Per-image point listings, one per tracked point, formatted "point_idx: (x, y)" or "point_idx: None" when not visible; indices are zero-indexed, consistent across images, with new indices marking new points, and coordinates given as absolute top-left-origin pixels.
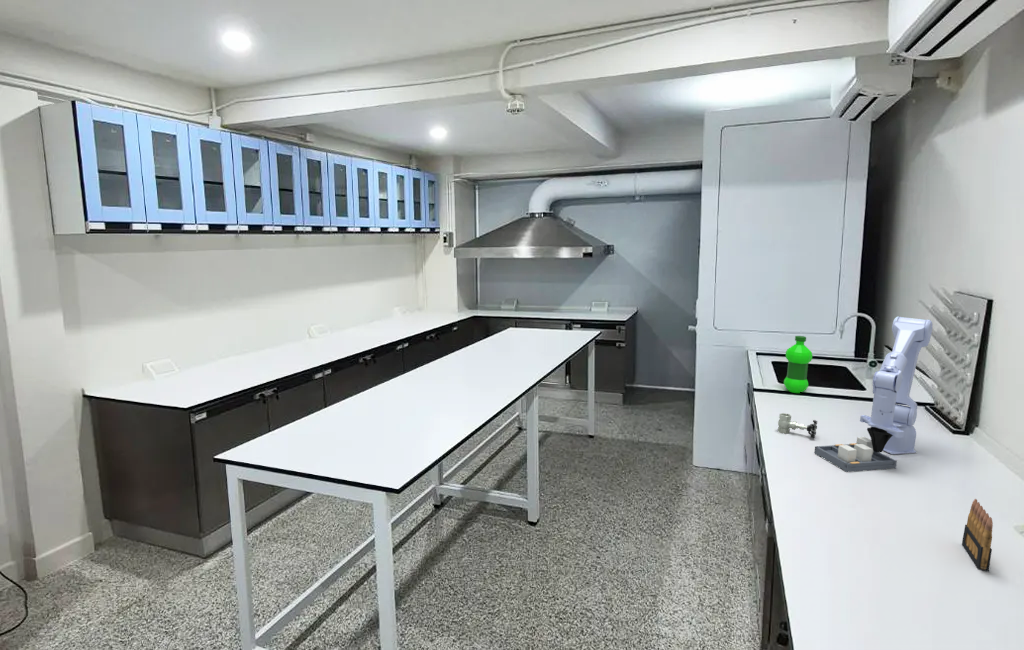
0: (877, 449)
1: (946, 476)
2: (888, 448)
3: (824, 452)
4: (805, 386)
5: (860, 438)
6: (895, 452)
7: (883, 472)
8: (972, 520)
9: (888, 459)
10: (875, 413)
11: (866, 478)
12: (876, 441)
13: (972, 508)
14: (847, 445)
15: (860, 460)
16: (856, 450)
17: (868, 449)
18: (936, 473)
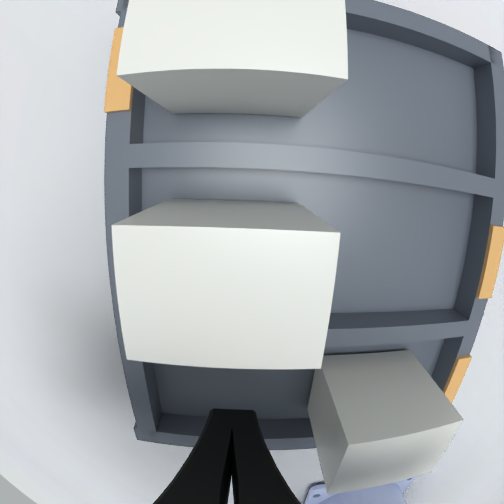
0: (203, 432)
1: (84, 481)
2: (344, 499)
3: (411, 15)
4: None
5: (433, 432)
6: (312, 501)
7: (92, 288)
8: None
9: (186, 428)
10: None
11: (37, 95)
12: (190, 495)
13: None
14: (324, 69)
15: (199, 202)
16: (121, 75)
17: (117, 294)
18: (106, 481)
